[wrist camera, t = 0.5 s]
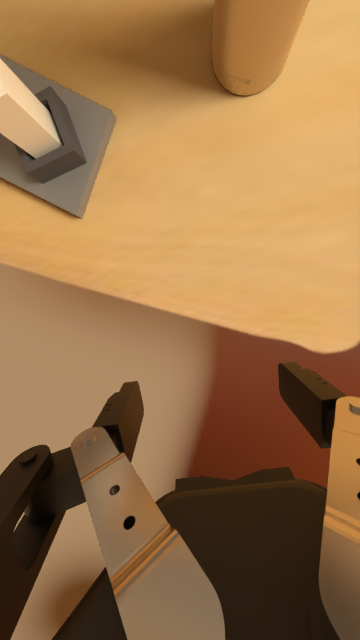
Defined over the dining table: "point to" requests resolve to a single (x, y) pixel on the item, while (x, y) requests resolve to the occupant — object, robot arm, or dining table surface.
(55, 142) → the plug
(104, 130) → the port board
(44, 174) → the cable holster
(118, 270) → the dining table surface
